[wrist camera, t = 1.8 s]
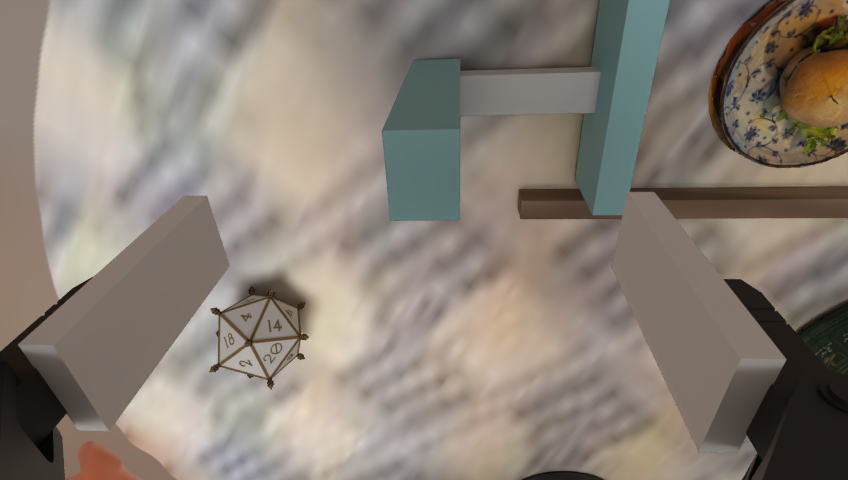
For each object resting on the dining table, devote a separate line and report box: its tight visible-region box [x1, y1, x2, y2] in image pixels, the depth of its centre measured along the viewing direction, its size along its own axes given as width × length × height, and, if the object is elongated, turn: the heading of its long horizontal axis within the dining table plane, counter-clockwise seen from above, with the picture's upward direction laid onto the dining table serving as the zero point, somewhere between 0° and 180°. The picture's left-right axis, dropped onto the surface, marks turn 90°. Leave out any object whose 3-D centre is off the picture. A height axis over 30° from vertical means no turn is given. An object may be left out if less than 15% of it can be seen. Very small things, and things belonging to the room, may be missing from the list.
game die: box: [210, 287, 309, 390], centre depth 40 cm, size 9×8×10 cm
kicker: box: [382, 0, 670, 221], centre depth 25 cm, size 14×14×15 cm
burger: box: [709, 0, 848, 168], centre depth 27 cm, size 12×12×8 cm
